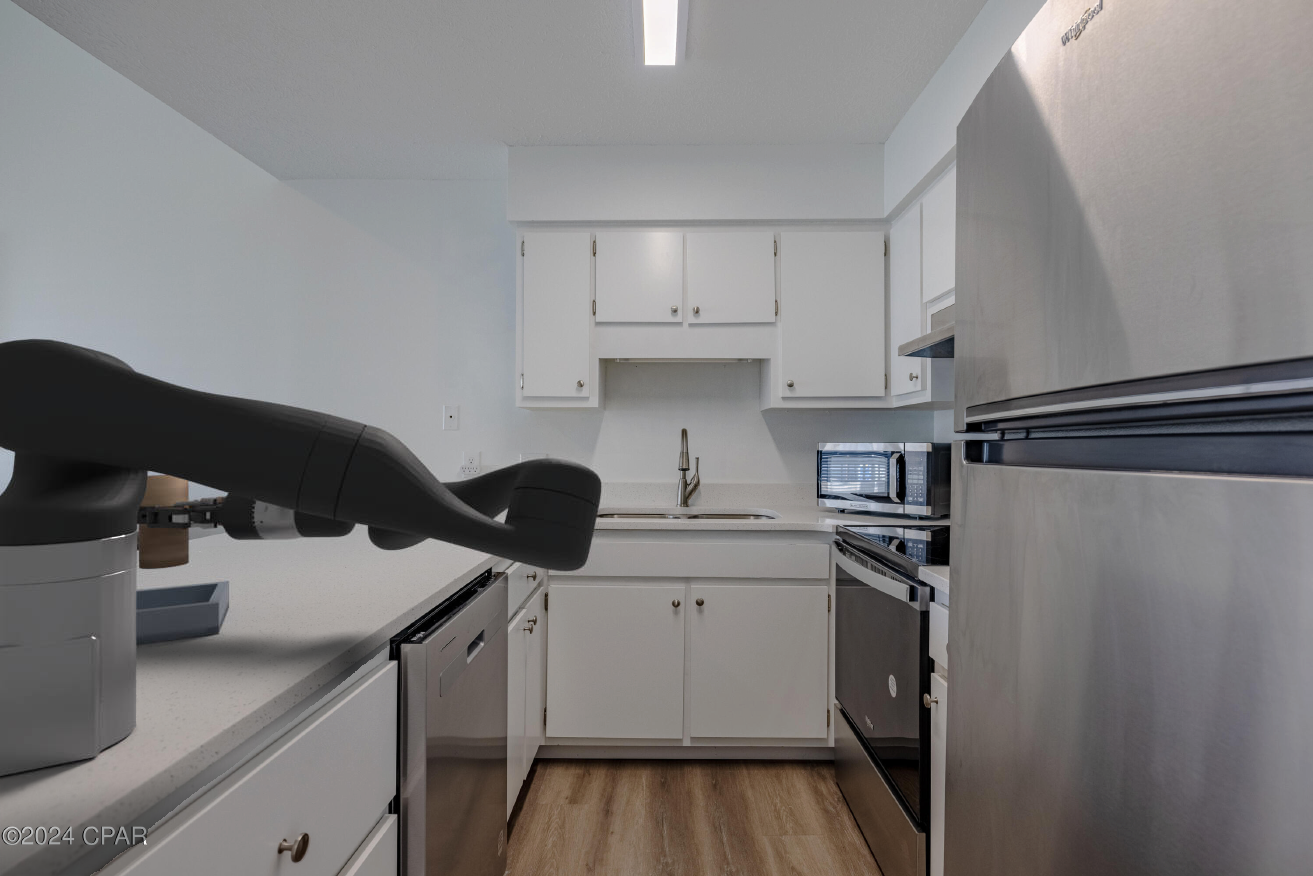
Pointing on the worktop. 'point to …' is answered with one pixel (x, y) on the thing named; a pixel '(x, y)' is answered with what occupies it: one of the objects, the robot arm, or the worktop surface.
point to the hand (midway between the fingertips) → (144, 512)
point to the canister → (163, 543)
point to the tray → (180, 611)
